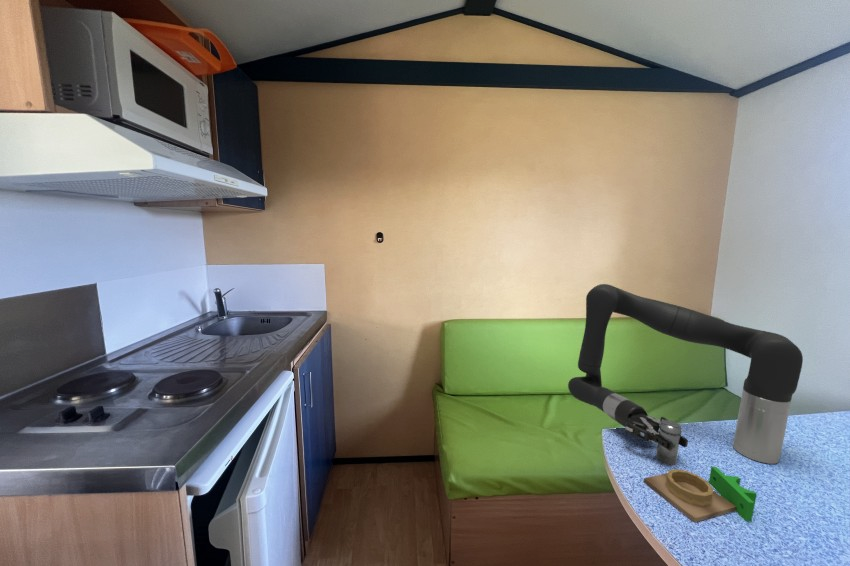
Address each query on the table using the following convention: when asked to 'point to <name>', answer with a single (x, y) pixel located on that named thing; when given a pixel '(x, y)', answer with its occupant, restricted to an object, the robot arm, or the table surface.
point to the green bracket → (734, 492)
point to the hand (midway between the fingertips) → (678, 445)
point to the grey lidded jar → (672, 434)
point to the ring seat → (690, 494)
